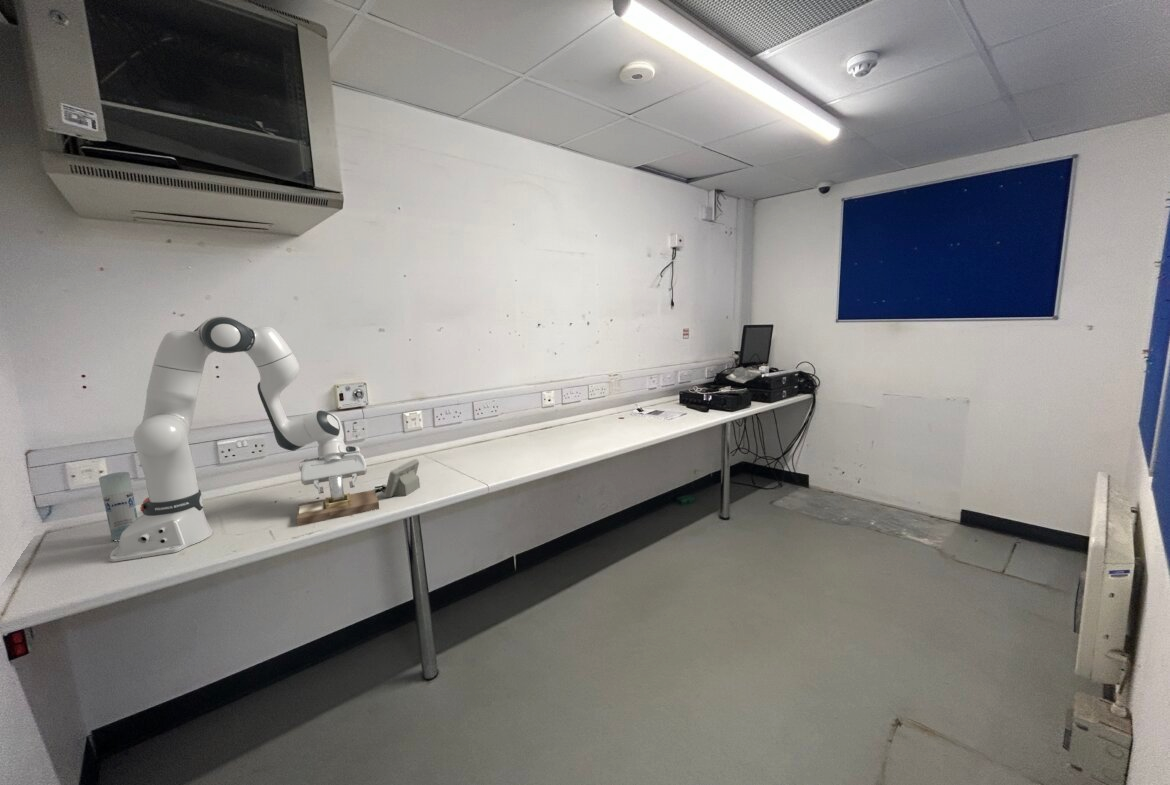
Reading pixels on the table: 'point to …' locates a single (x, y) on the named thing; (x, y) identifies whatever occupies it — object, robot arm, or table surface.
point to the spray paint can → (118, 502)
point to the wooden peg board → (336, 507)
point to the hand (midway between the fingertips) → (336, 489)
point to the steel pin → (336, 488)
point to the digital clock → (403, 479)
